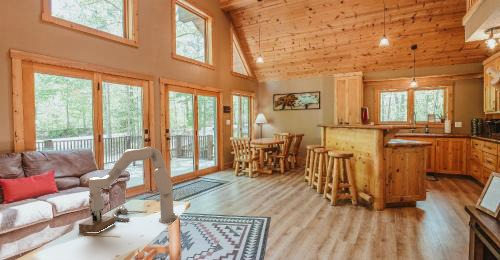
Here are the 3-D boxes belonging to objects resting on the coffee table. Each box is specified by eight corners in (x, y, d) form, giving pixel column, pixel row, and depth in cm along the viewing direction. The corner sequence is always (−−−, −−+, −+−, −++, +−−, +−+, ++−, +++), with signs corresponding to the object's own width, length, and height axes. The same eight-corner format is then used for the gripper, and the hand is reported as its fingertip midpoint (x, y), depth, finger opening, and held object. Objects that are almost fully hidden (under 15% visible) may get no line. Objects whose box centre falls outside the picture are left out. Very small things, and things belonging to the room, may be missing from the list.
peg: (101, 222, 189) (100, 206, 188) (97, 224, 185) (96, 207, 185) (97, 221, 190) (96, 205, 189) (93, 223, 186) (92, 207, 186)
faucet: (151, 211, 227) (139, 224, 199) (118, 210, 225) (102, 222, 198) (151, 206, 226) (139, 218, 199) (119, 204, 225) (102, 216, 197)
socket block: (115, 224, 193) (114, 216, 193) (97, 233, 178) (97, 225, 178) (97, 223, 197) (97, 215, 197) (79, 232, 182) (78, 223, 182)
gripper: (90, 198, 178) (91, 224, 178) (108, 191, 194) (110, 215, 194) (81, 197, 180) (83, 223, 180) (100, 191, 196) (102, 215, 196)
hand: (97, 219), depth 187 cm, fingers closed on peg, 3 cm apart
